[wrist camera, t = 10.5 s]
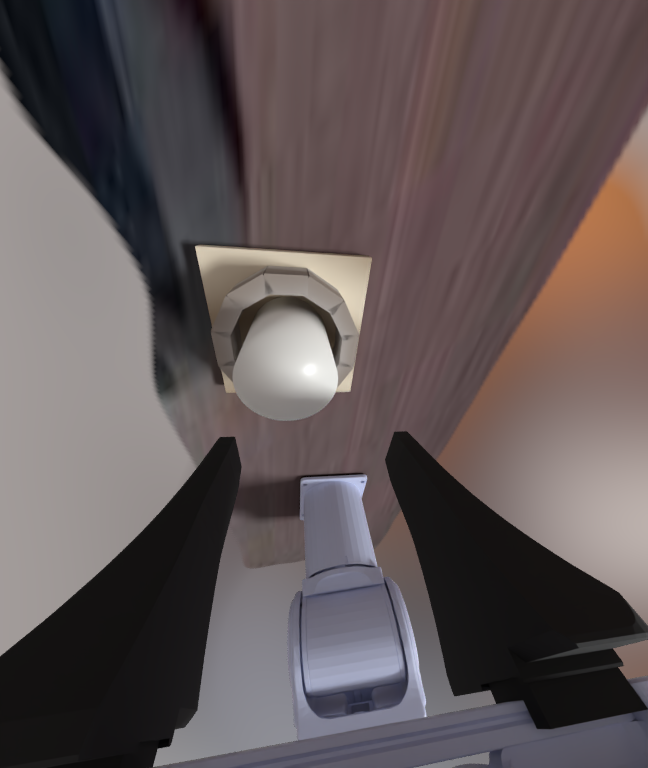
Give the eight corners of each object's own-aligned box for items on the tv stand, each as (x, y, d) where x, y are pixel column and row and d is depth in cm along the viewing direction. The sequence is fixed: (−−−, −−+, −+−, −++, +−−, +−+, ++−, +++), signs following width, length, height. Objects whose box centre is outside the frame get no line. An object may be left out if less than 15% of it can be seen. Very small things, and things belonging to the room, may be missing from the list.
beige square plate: (347, 385, 20) (356, 411, 18) (229, 385, 19) (217, 413, 16) (367, 255, 15) (385, 264, 12) (200, 244, 14) (175, 250, 11)
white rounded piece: (322, 365, 18) (333, 419, 13) (255, 365, 17) (240, 422, 12) (327, 298, 15) (343, 335, 10) (247, 295, 14) (223, 332, 10)
